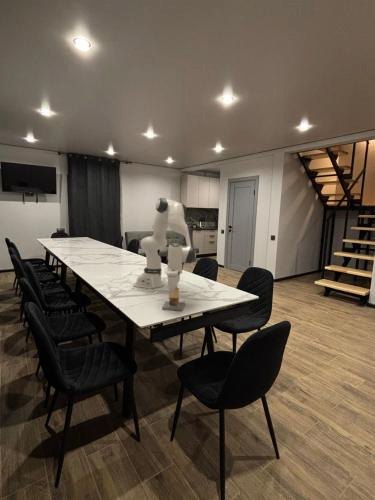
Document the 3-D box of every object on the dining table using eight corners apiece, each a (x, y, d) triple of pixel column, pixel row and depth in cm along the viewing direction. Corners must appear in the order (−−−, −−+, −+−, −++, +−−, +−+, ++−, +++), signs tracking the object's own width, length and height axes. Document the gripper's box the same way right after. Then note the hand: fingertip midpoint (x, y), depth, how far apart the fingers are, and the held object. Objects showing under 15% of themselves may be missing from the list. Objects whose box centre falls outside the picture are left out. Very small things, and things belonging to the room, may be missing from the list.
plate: (162, 309, 157) (162, 307, 157) (166, 302, 169) (166, 300, 169) (182, 310, 156) (182, 308, 156) (184, 304, 168) (184, 302, 168)
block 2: (169, 305, 160) (169, 297, 160) (170, 303, 165) (170, 295, 164) (177, 306, 160) (177, 298, 159) (178, 303, 165) (178, 295, 164)
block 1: (169, 297, 160) (169, 289, 159) (170, 295, 164) (171, 287, 164) (177, 298, 159) (177, 290, 158) (178, 295, 164) (179, 287, 163)
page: (166, 301, 172) (166, 301, 171) (168, 298, 178) (168, 297, 178) (182, 302, 170) (182, 302, 170) (183, 299, 177) (183, 298, 177)
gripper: (172, 266, 170) (172, 287, 172) (166, 273, 150) (165, 297, 152) (182, 267, 169) (181, 288, 171) (177, 274, 149) (176, 297, 151)
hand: (174, 292), depth 161 cm, fingers open, 8 cm apart
